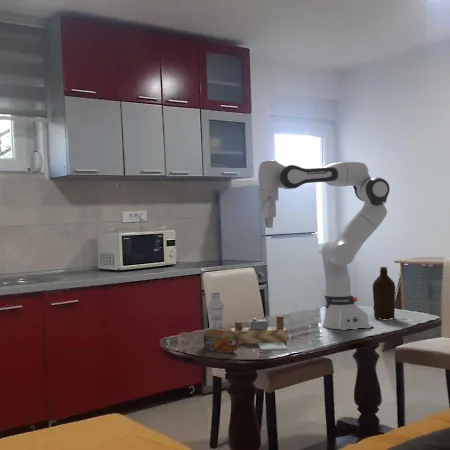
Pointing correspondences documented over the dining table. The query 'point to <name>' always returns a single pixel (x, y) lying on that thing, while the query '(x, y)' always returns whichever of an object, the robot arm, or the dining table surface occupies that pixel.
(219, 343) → the tin
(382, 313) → the olive oil
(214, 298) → the plastic bottle
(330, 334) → the dining table surface
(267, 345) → the mat
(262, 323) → the lever cap
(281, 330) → the body
